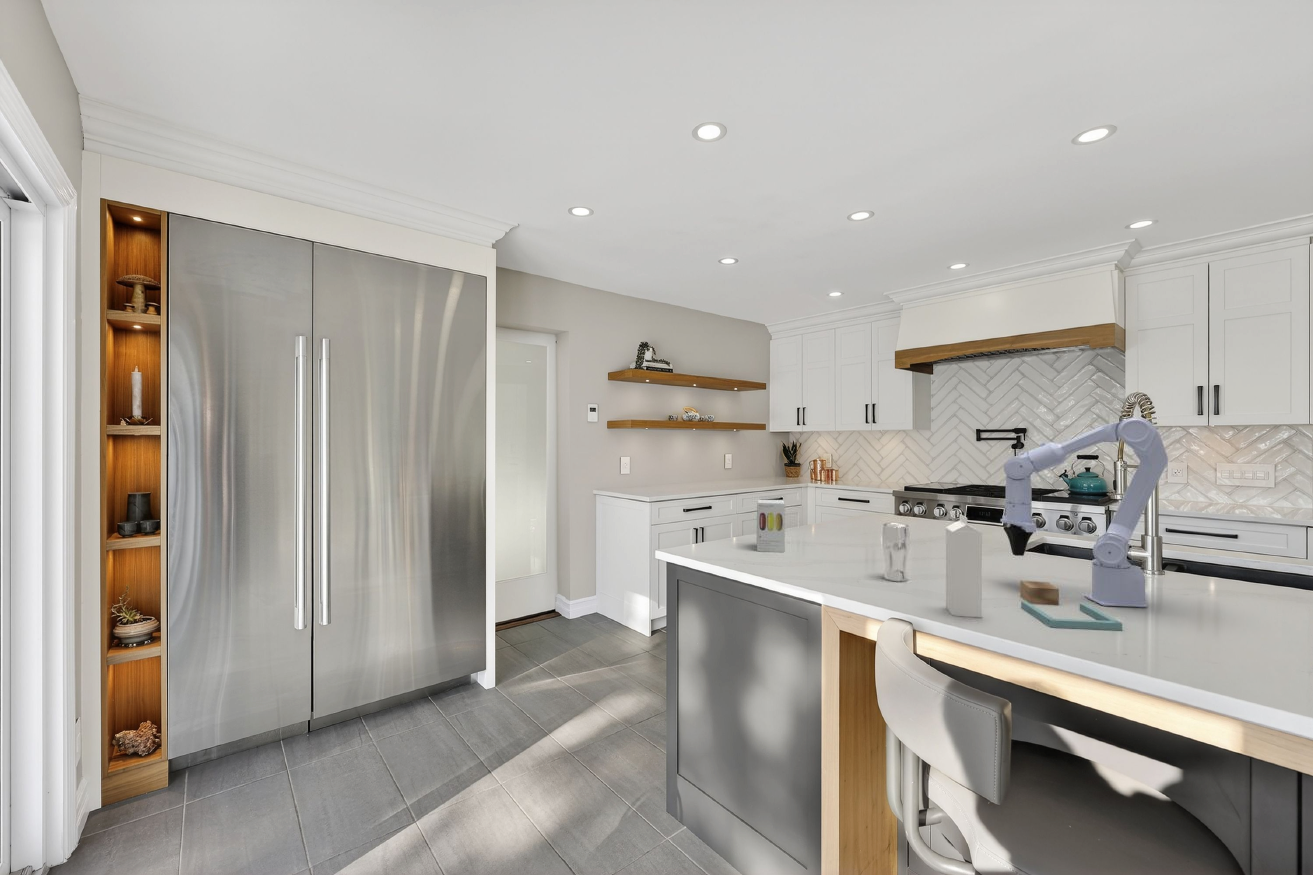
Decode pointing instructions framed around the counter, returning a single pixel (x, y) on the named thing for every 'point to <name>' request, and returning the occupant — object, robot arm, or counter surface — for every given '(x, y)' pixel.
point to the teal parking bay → (1101, 623)
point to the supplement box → (771, 526)
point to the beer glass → (895, 551)
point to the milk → (963, 569)
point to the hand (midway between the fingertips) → (1018, 555)
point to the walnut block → (1039, 593)
